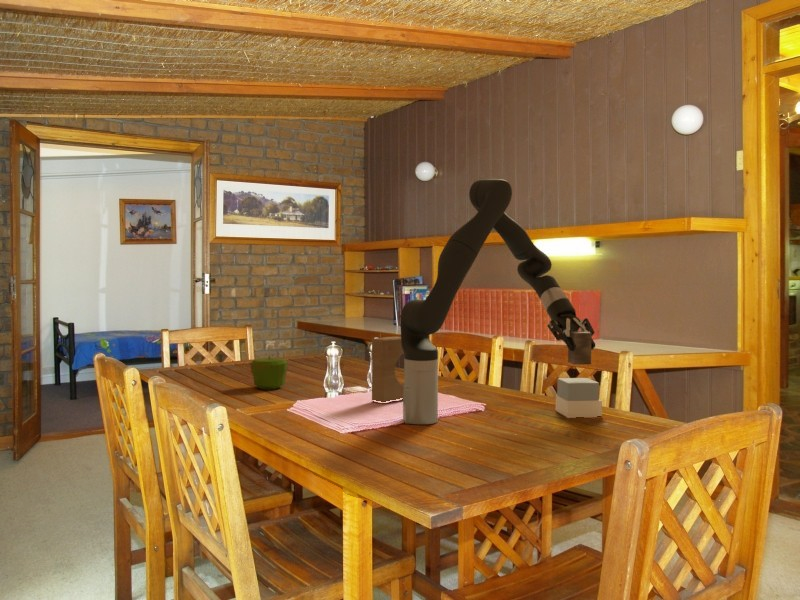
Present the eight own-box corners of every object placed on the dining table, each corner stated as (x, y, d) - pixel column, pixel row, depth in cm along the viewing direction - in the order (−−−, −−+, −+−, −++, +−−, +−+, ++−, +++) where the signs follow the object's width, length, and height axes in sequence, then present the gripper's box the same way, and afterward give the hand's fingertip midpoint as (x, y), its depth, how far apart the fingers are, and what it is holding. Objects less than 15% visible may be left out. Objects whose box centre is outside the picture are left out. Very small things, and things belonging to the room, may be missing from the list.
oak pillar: (574, 364, 192) (574, 333, 192) (568, 362, 197) (568, 331, 197) (591, 364, 193) (591, 332, 192) (584, 361, 198) (585, 331, 197)
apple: (292, 385, 241) (292, 354, 241) (278, 391, 230) (278, 358, 229) (260, 384, 244) (260, 353, 244) (245, 390, 232) (244, 357, 232)
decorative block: (395, 397, 220) (395, 336, 219) (408, 399, 216) (408, 337, 215) (370, 401, 212) (370, 338, 211) (383, 404, 208) (383, 339, 207)
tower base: (567, 418, 190) (567, 401, 190) (555, 411, 200) (555, 394, 200) (601, 418, 191) (601, 400, 191) (588, 410, 201) (588, 394, 201)
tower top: (568, 401, 190) (568, 383, 190) (557, 395, 199) (557, 378, 199) (598, 400, 192) (599, 382, 191) (586, 394, 200) (586, 377, 200)
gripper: (543, 297, 198) (570, 341, 188) (582, 296, 204) (609, 339, 194) (532, 314, 203) (557, 358, 193) (570, 313, 209) (596, 355, 199)
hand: (583, 348), depth 193 cm, fingers closed on oak pillar, 6 cm apart
